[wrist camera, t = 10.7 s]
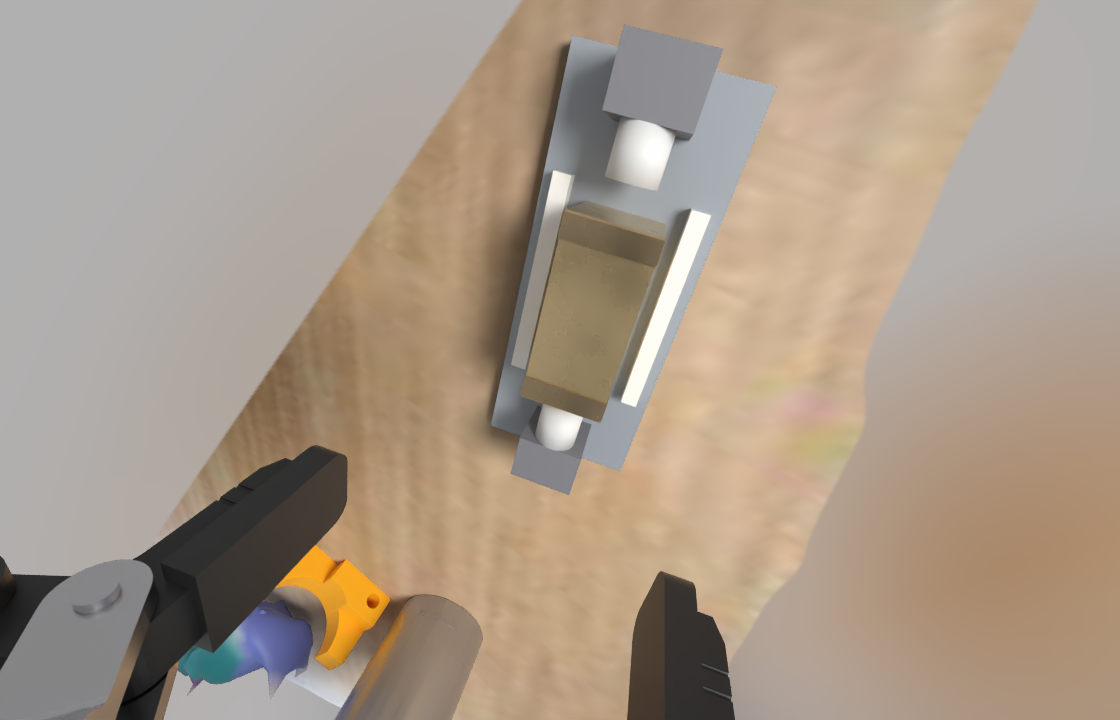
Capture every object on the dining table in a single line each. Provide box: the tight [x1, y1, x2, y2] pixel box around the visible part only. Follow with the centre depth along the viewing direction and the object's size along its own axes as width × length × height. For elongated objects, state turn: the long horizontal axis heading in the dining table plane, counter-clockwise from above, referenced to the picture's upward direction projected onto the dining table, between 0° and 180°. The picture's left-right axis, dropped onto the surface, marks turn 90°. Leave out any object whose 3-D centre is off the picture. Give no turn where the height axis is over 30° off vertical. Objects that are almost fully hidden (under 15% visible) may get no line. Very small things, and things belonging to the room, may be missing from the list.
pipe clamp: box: [274, 545, 391, 670], centre depth 42 cm, size 12×4×6 cm, turn 42°
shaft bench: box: [491, 25, 777, 495], centre depth 24 cm, size 24×10×5 cm, turn 166°
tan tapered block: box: [520, 201, 666, 423], centre depth 23 cm, size 10×5×6 cm, turn 166°
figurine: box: [177, 600, 313, 699], centre depth 47 cm, size 13×12×9 cm
